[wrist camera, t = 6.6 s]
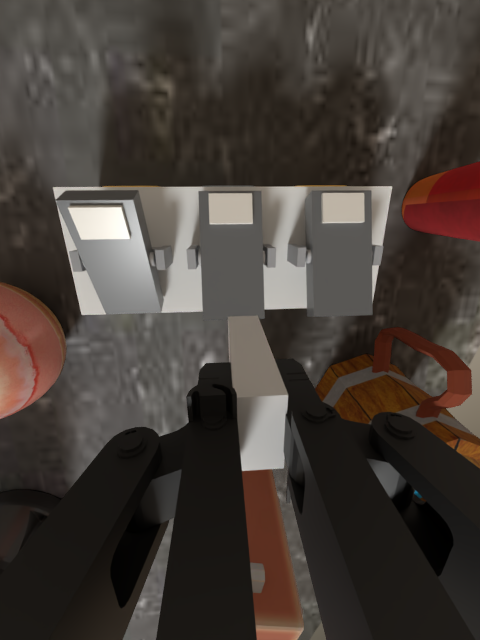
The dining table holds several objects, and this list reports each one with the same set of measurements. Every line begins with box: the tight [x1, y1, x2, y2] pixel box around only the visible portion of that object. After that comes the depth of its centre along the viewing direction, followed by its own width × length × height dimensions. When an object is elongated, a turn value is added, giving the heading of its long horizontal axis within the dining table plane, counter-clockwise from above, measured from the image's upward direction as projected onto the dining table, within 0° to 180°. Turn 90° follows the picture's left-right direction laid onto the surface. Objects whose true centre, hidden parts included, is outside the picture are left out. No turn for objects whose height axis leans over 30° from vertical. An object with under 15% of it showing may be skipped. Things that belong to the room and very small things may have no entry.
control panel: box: [242, 469, 304, 640], centre depth 30 cm, size 21×7×15 cm
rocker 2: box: [198, 191, 265, 321], centre depth 20 cm, size 5×9×2 cm, turn 0°
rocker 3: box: [305, 190, 373, 317], centre depth 20 cm, size 5×9×2 cm, turn 0°
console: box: [53, 185, 392, 315], centre depth 25 cm, size 26×10×11 cm, turn 90°
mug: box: [315, 327, 480, 502], centre depth 31 cm, size 20×14×15 cm
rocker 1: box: [55, 190, 164, 314], centre depth 19 cm, size 5×9×2 cm, turn 0°
